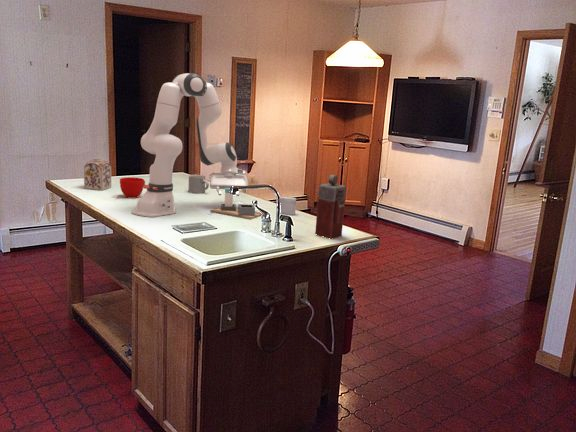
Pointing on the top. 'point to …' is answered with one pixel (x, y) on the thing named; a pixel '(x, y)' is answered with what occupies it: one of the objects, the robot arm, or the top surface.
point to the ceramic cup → (132, 186)
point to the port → (246, 209)
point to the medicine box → (288, 205)
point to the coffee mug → (197, 184)
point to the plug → (228, 198)
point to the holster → (228, 208)
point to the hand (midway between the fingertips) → (228, 195)
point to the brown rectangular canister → (330, 209)
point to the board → (235, 213)
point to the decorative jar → (97, 175)
